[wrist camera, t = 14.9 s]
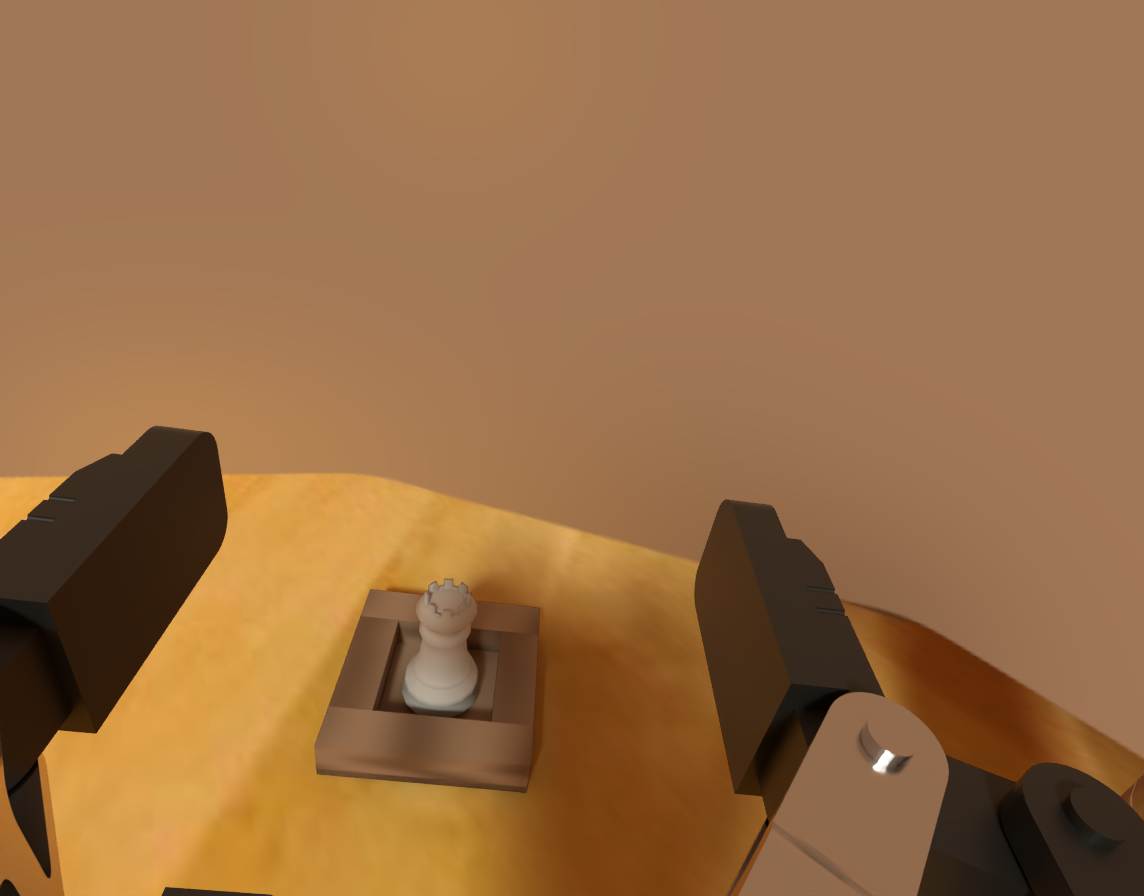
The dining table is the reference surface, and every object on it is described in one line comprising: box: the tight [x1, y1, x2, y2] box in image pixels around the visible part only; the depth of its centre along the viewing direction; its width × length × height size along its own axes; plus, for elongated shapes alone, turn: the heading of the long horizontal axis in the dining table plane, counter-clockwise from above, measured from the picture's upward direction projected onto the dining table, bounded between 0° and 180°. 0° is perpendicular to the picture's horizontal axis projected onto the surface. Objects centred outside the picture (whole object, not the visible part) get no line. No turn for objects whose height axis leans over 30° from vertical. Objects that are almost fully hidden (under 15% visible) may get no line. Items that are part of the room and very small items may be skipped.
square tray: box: [314, 589, 540, 792], centre depth 39 cm, size 11×11×2 cm
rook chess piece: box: [402, 579, 478, 718], centre depth 37 cm, size 4×4×8 cm
